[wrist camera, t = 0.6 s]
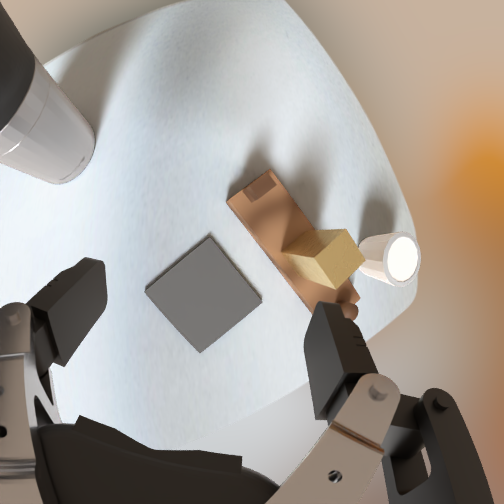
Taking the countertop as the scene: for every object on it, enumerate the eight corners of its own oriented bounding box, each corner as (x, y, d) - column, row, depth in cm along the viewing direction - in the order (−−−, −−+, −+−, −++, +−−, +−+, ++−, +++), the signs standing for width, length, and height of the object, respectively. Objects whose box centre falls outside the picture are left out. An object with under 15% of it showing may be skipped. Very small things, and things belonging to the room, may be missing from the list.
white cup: (345, 244, 37) (376, 246, 30) (380, 224, 38) (412, 222, 31) (361, 288, 38) (392, 297, 31) (394, 265, 39) (426, 270, 32)
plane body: (225, 202, 33) (233, 195, 27) (264, 173, 34) (279, 161, 28) (320, 324, 37) (342, 338, 31) (351, 295, 37) (376, 304, 31)
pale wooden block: (280, 252, 32) (314, 257, 23) (305, 230, 33) (345, 228, 24) (298, 276, 33) (336, 289, 24) (322, 254, 33) (365, 260, 25)
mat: (144, 290, 31) (144, 291, 31) (209, 237, 33) (210, 237, 32) (199, 351, 33) (199, 353, 33) (261, 301, 35) (262, 302, 34)
